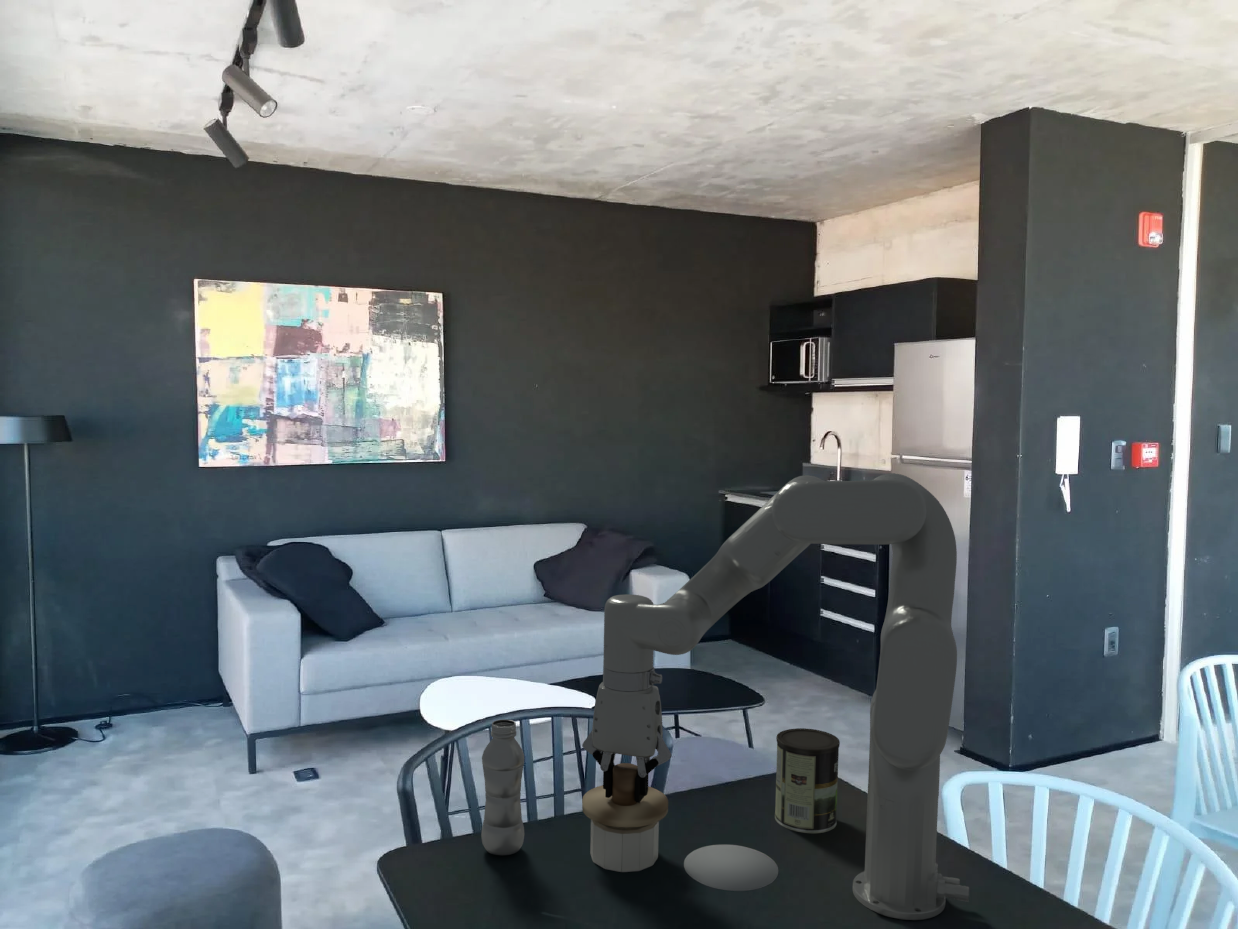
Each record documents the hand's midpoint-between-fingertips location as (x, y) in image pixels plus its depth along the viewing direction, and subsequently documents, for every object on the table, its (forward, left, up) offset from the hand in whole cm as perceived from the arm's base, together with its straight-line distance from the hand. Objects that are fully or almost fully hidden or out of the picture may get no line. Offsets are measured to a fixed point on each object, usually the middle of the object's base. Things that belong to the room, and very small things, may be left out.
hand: (625, 795), depth 145 cm
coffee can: (-24, -23, -10) cm, 35 cm away
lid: (0, 0, -2) cm, 2 cm away
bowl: (0, 0, -10) cm, 10 cm away
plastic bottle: (+18, +5, -10) cm, 21 cm away
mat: (-16, -3, -10) cm, 19 cm away
